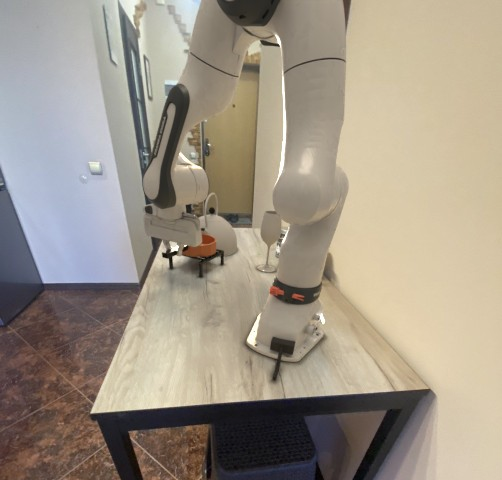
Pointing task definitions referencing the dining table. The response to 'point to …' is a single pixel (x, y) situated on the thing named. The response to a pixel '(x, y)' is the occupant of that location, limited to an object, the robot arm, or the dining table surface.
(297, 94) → the robot arm
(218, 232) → the kettle
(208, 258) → the rack
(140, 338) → the dining table surface
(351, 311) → the dining table surface
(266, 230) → the wineglass
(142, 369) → the dining table surface
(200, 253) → the pan
